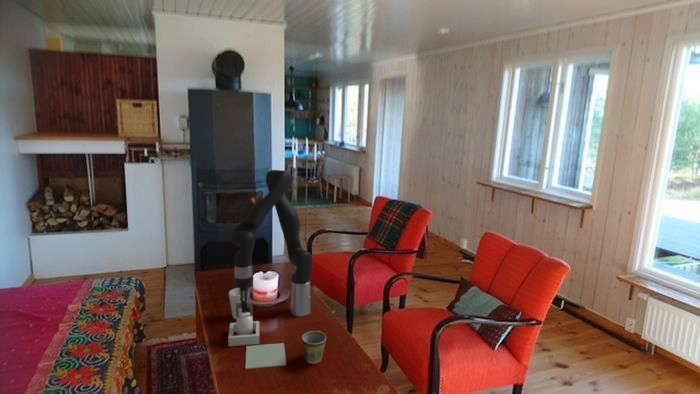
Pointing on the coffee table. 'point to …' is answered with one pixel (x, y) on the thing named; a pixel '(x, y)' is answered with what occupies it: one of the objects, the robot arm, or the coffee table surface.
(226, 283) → the coffee table surface
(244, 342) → the frame
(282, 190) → the robot arm
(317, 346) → the ceramic cup
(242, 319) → the egg with flat handle
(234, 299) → the foam cup
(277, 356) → the mat
